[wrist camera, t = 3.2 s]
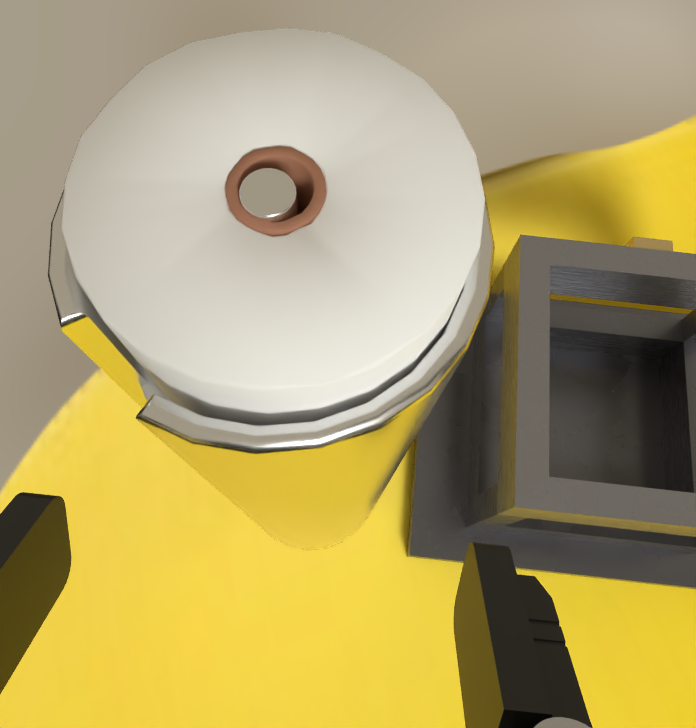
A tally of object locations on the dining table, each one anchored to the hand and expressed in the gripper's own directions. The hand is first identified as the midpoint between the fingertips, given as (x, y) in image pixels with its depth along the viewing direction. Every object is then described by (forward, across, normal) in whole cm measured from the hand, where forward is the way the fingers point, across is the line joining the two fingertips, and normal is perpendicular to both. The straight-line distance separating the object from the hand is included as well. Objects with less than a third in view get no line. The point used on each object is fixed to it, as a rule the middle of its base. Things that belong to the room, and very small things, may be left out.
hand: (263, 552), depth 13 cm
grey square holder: (+19, -13, +8) cm, 24 cm away
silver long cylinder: (+16, 0, +10) cm, 20 cm away
